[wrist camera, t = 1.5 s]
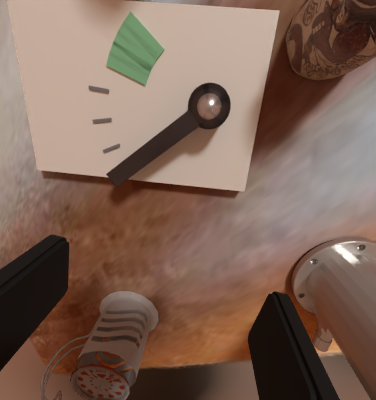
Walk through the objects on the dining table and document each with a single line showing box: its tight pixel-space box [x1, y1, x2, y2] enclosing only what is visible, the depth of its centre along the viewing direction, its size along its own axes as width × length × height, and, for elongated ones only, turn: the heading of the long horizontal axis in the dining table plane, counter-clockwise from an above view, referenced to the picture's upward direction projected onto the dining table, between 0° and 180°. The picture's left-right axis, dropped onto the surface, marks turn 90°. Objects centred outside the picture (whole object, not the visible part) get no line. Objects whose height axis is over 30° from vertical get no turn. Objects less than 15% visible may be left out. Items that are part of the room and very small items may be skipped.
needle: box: [106, 83, 231, 187], centre depth 19 cm, size 13×4×3 cm, turn 125°
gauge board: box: [7, 0, 279, 192], centre depth 21 cm, size 16×24×2 cm, turn 85°
